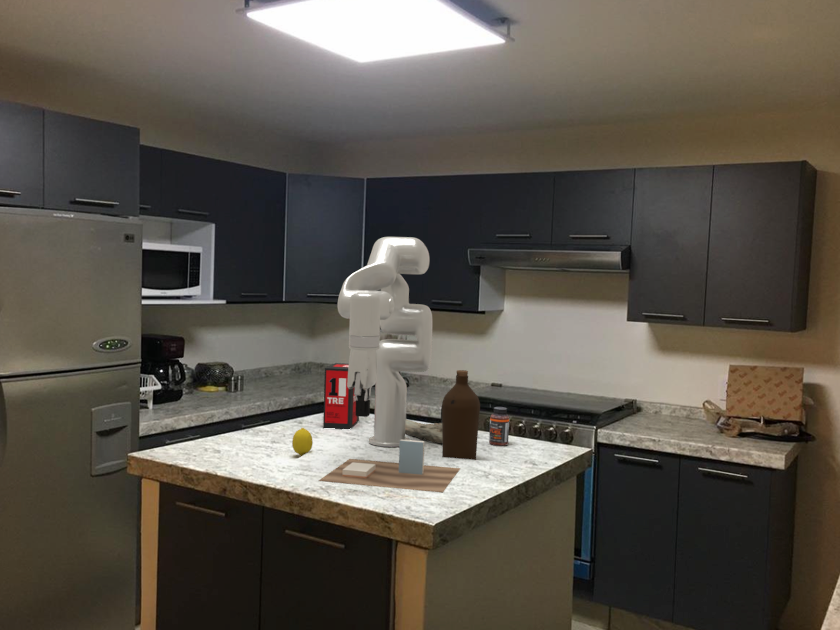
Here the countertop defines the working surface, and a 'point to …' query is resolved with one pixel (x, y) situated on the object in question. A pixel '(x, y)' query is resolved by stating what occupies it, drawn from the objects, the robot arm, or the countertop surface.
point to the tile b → (411, 457)
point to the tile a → (359, 470)
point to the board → (396, 477)
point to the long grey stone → (425, 431)
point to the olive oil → (460, 420)
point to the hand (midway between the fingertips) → (362, 415)
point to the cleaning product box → (338, 398)
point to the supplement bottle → (499, 427)
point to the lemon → (302, 441)
